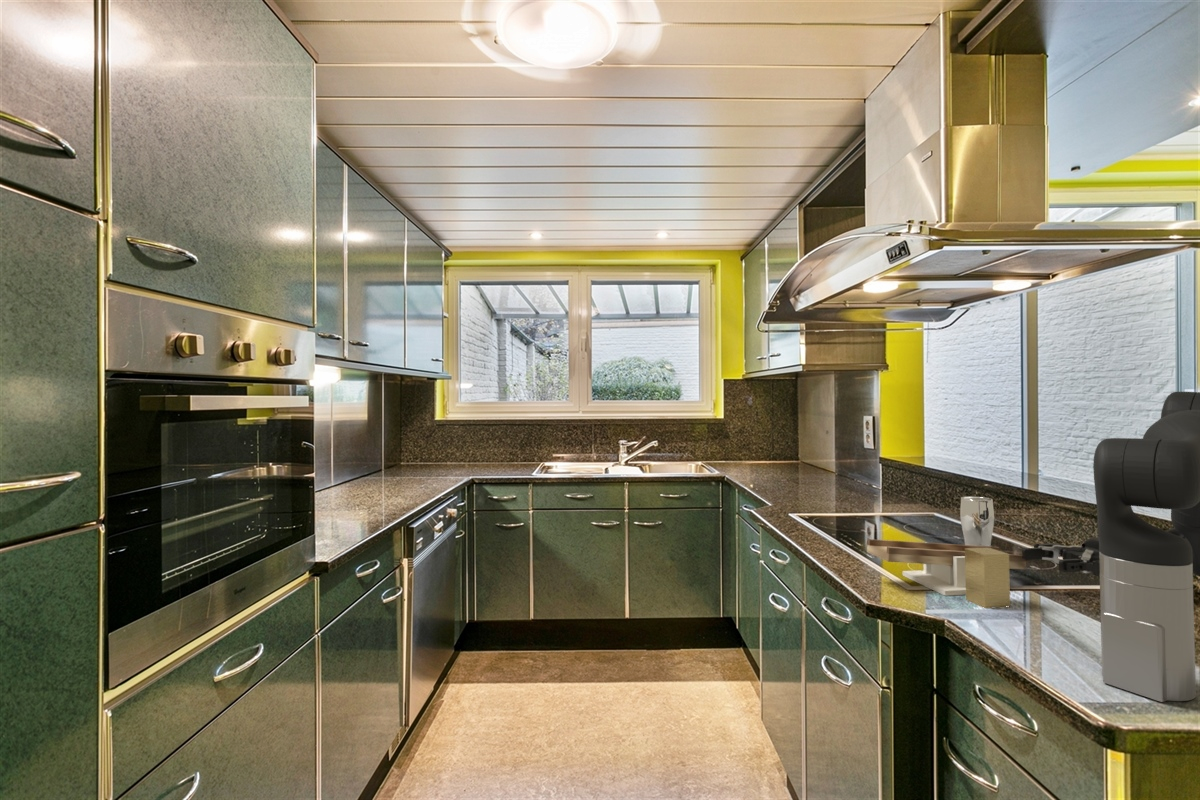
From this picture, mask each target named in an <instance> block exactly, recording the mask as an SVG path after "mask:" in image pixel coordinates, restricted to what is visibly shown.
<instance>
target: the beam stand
mask: <svg viewBox="0 0 1200 800" xmlns="http://www.w3.org/2000/svg"><path fill="white" fill-rule="evenodd" d="M922 566H923V569H922V570H918V569H917V570H902V576H903V577H905V578H907V579H909V580H911V581H913V582H916V583H917V584H920V585H921V586H923V587H926V588H928V589H930V590H933V591H934V592H936V593H939V594H940V595H943V596H946V597H947V596H949V597H950V596H966V577H965V556H953V565H937V564H923V565H922Z"/></svg>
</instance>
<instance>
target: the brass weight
mask: <svg viewBox="0 0 1200 800" xmlns="http://www.w3.org/2000/svg"><path fill="white" fill-rule="evenodd" d="M1009 554H1010V553H1007V552H1005V551H1001V550H1000V551H998V550H995V549H992V548H965V577H966V595H965V600H966V601H968V602H970V603H973V604H975V605H977V606H979V607H981V608H983V607H984V608H983V609H993V608H992V607H1006V606H1010V607H1011V590H1010V589H1011V587H1010V585H1011V584H1010V569H1009Z"/></svg>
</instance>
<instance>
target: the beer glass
mask: <svg viewBox="0 0 1200 800" xmlns="http://www.w3.org/2000/svg"><path fill="white" fill-rule="evenodd" d="M959 510H960V511H959V513H960V514H959V515H960V516H959V517H960V524H961V529H962V530H961V531H962V533H963V538H964V545H975V546H991V544H992V537H993V531H994V524H995V511H994V501H993V498H991V497H990V498H989V497H982V496H971V495H970V496H969V495H968V496H961V497H960V508H959ZM991 547H992V546H991Z"/></svg>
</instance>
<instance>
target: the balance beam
mask: <svg viewBox="0 0 1200 800" xmlns="http://www.w3.org/2000/svg"><path fill="white" fill-rule="evenodd" d="M965 548H992V549H995V550H998V551H1001V549H1000V547H999V546H975V545H965V544H954V543H940V542H939V543H938V542H937V543H936V542H923V541H907V540H905V541H904V540H889V539H873V538H871V539H870V538H867V547H866V552H867V553H869V554H870V555H873V556H875V557H877V558H880V559H881V560H883V561H885V562H889V563H905V564H918V565H919V564H920V565H921V564H937V565H953V556H965ZM1008 554H1009V570H1010V569H1011V570H1026V569H1027V560H1025V559H1023V558H1022V554H1011V553H1008Z"/></svg>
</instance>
